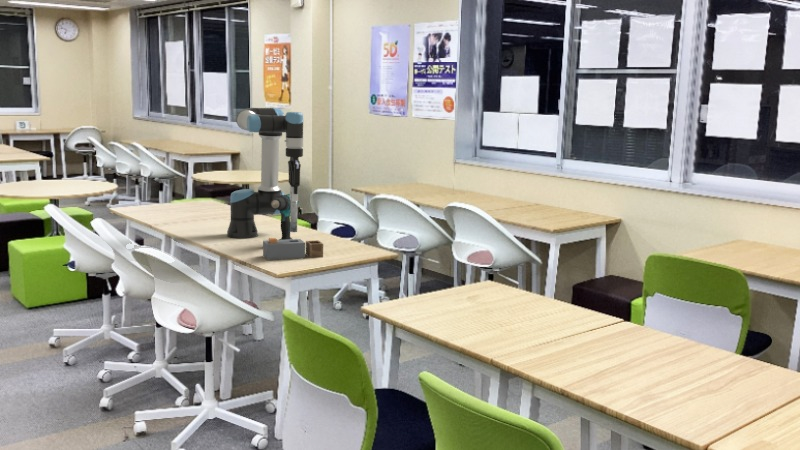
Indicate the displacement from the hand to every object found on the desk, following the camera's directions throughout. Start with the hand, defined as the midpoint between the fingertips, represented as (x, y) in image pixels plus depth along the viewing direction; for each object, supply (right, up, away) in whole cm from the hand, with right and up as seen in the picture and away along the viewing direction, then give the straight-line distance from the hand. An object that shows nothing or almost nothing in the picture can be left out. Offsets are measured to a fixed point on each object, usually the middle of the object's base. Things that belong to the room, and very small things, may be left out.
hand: (294, 200), depth 319 cm
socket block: (-4, -25, +3) cm, 26 cm away
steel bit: (-1, -14, +3) cm, 14 cm away
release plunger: (-10, -25, +1) cm, 27 cm away
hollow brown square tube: (+8, -25, +8) cm, 27 cm away
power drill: (-9, -21, +24) cm, 33 cm away
